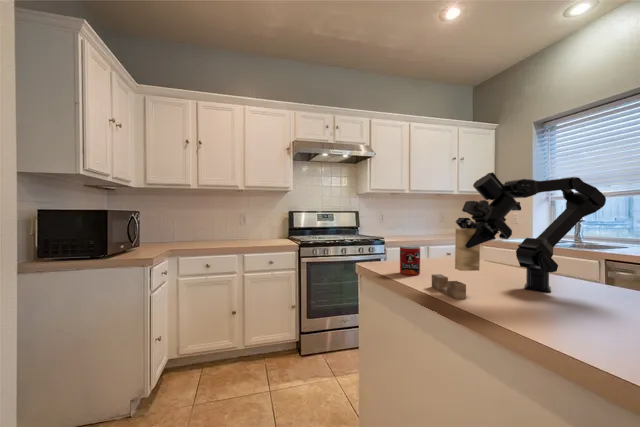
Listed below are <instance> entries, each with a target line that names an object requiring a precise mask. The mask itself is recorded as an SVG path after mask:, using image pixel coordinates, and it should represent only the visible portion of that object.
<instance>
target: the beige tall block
mask: <svg viewBox="0 0 640 427" xmlns="http://www.w3.org/2000/svg"><path fill="white" fill-rule="evenodd" d="M475 232H476V229H461V228H455V236H454V237H455V238H454V239H455V246H454V249H455V251H454V252H455V253H454V269H455V270H457V271H461V272H463V271H464V272H465V271H466V272H468V271H470V272H471V271H480V260H481V259H480V258H481V256H480V255H481V254H480V253H481V249H480V248H481V244H478V245H476V246H473V247H471V248H467V247H466V244H467V242H468V241H469V240H470V238H471V237H472V236H473V235H474V233H475Z"/></svg>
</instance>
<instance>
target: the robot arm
mask: <svg viewBox="0 0 640 427" xmlns="http://www.w3.org/2000/svg"><path fill="white" fill-rule="evenodd" d="M472 187H473V188H474V189H475V190H476V192H478V193H479V195H480V196H481V197H482V198H483V199H482V200H479V201H477V200H476V201H475V200H468V201H465V202H464V204H463V207H462V209H461V211H462V213H467V214H469V215H471V218H470V217H458V218H457V219H456V220H455V224H456V225H457V226H458V228H459V229H476V232H475V233H474V235H473V236H472V237H471V238H470V240H469V241H468V242H467V244H466V247H467V248H471V247H473V246H476V245H478V244H480V245H482V244H484V243H486V242H490V241H493V240H496V235H498V236H499V239H501V240H509V239H510V237H511V236H512V235H513V230H512V227H510V226H509V225H508V224H507V223H506V221H507V218H505V217H506V216H508V214H509V213H511V211H522V206H521V202H520V201H516V199H526V198H529V197H533V196H536V195H537V194H540V193H546V192H557V191H561V192H562V197H563V199H564V200H565V201H566V202H565V208H564V210H563V211H562V212H561V214H559V216H557V217H556V218H555V219H554V220H553V221H552V222H551V224H549V225H548V226H547V228H545V229H544V230H543V231H542V232H541V233H540V234H539V235H538V236H537V237H536V238H532V237H526V238H524V239H523V241H522V242H521V243H520V244H518V245H517V249H516V250H515V253H516V254H515V255H516V260H517V261H518V264H519V267H520V268H525V269H526V274H525V275H526V278H525V279H526V280H525V282H526V283H525V284H524V289H525V290H530V291H539V292H547V293H552V287H551V286H550V273H556V272H557V271H558V268H559V264H558V263H557V262H556V261H555V260H554V259H553V256H554V247H555V246H557V244H558V243H559V242H560V241H561V240H562V239H563V238H564V237H566V235H567V234H568V233H569V232H570V231H572V229H573V228H574V227H575V226H576V225H577V224H578V223H579V222H580V221H581V220H582V219H583V218H585V217H587V216H590V215H592V214H595V213H597V212H599V211H600V210H601V209H603V207H604V206H605V205H606V201H607V197H606V196H605V194H604V193H602V192H601V191H600V189H598V187H595V186H593V185H591V184H589V183H587V182H585V181H583V180H582V178H580V177H577V176H568V177H562V178H556V179H548V180H547V179H546V180H545V179H544V180H536V179H531V178H530V179H527V178H522V179H520V178H519V179H515V180H513V179H512V180H508V181H505V182H504V183H502V182H501V181H500V179H499V178H498V177H497V175H496V174H495V173H494V172H488V173H486V174H485V175H484V176H482V177H481V178H479V179H477V180H475V181H474V183H473V185H472ZM573 190H574V191H576V192H574V191H573ZM488 200H489V201H491V202H489V201H488ZM472 220H473V221H472Z"/></svg>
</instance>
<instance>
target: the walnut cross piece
mask: <svg viewBox="0 0 640 427" xmlns="http://www.w3.org/2000/svg"><path fill="white" fill-rule="evenodd" d="M431 288H434V289H436V291H439V292H441V293H443V294H445V295H447V296H449V297H451V298H453V299H455V300H466V299H467V284H465V283H462V282H461V281H459V280H449V276H445V275H443V274H441V273H440V274H439V273H437V274H434V273H433V274H432V273H431Z"/></svg>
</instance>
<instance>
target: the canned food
mask: <svg viewBox="0 0 640 427" xmlns="http://www.w3.org/2000/svg"><path fill="white" fill-rule="evenodd" d="M399 272H400V274H401V275H403V276H408V277H409V276H410V277H412V276H413V277H414V276H415V277H416V276H419V275H420V274H421V246H420V245H418V244H417V245H416V244H402V245H401V244H400V245H399Z"/></svg>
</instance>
